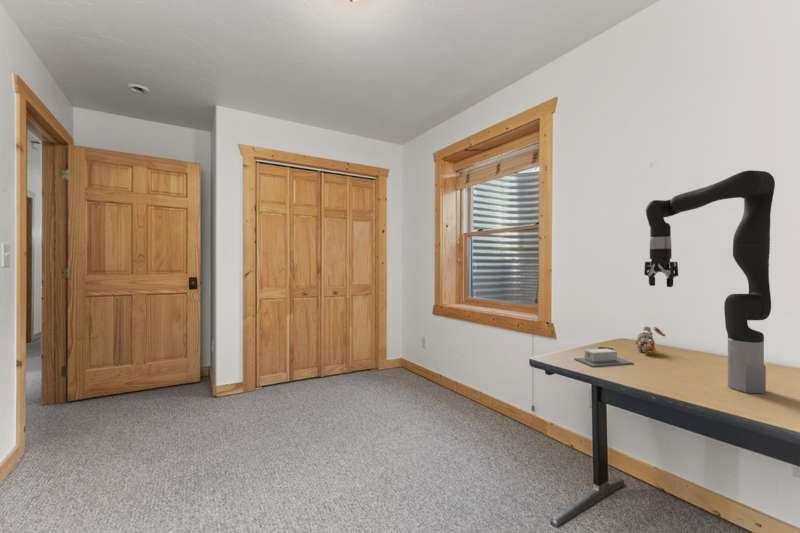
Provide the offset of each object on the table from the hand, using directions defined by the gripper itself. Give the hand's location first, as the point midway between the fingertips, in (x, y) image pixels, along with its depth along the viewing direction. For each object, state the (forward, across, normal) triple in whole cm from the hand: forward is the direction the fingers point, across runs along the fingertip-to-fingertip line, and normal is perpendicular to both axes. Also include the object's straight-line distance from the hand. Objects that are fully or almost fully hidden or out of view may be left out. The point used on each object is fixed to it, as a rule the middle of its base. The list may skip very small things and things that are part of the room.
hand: (660, 286), depth 155 cm
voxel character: (+34, +21, -15) cm, 43 cm away
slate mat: (+34, +12, +18) cm, 40 cm away
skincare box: (+31, +13, +25) cm, 42 cm away
